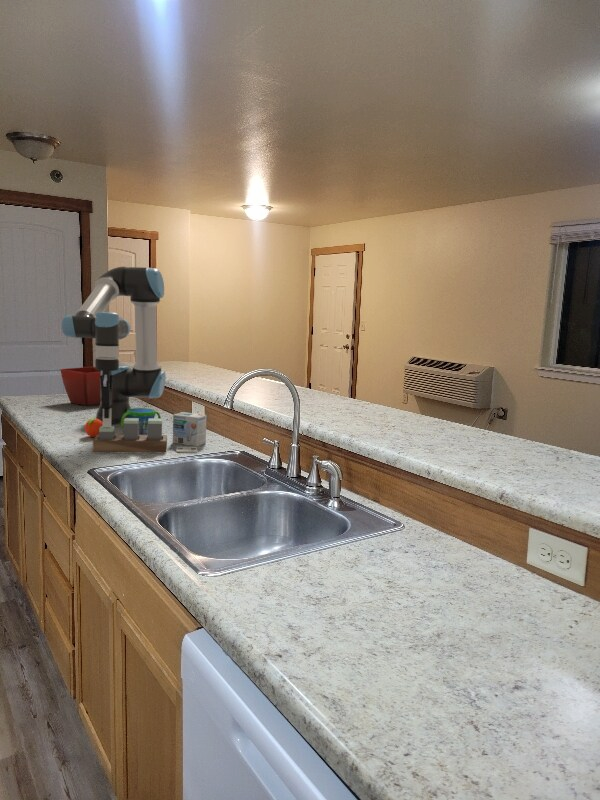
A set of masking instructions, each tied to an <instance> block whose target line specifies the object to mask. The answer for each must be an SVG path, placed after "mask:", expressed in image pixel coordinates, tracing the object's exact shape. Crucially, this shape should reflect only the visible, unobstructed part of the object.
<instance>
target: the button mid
mask: <svg viewBox="0 0 600 800" xmlns="http://www.w3.org/2000/svg"><path fill="white" fill-rule="evenodd" d="M123 435H124V440H138V438H139V418H125V419H124V429H123Z"/></svg>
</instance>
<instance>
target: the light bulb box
mask: <svg viewBox="0 0 600 800" xmlns="http://www.w3.org/2000/svg"><path fill="white" fill-rule="evenodd" d="M207 416H208V415H207V414H203V413H202V414H200V413H193V412H187V411H186V412H184V411H181V412H178V413H174V414H173V419H172V420H173V421H172V444H173V443H174V444H178V445H179V444H180V445H185V446H191V447H199V446H201V445H204V444H206V443H207Z"/></svg>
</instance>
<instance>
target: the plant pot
mask: <svg viewBox="0 0 600 800" xmlns="http://www.w3.org/2000/svg"><path fill="white" fill-rule="evenodd" d="M60 375H61V379H62V382H63V386H64V389H65V392H66V394H67V397H68V400H69V401H70V403H71V404H74V403H76V405H79V404H82V405H81V406H84V405H90V406H96V405H95V404H97V405H100V402H101V396H100V376H101V370H96V368H95V366H83V367H82V366H81V367H72V368H71V367H70V368H60Z"/></svg>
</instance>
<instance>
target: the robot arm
mask: <svg viewBox="0 0 600 800" xmlns="http://www.w3.org/2000/svg"><path fill="white" fill-rule="evenodd" d="M164 295H165V283H164V277H163V275H162V272H161V271H160V270H159V269H157V268H154V267H153V268H152V267H138V266H135V267H134V266H117V267H115V268H114V267H113V268H112V269H109V270H107V271H106V272H104V273H102V275H100V276H99V277H98V278H97V279H96V281H95V283H94V289H93V290H92V291H91V292H90V294H89V296H88V297H87V298H86V299H85V301H84V302H83V303H82V305H81V306H80V307H79V309H78V311H77V312H76V313H75V315H73V314H70V315H65V316H64V317H63V318H62V321H61V330H62V333H63V335H64V336H65V337H67V338H69V337H70V338H75V339H76V338H79V339H81V338H82V339H83V338H84V339H95V347H94V348H93V351H94V352H95V357H96V358H95V360H94V361H95V363H94V365H95V366H94V367H95V368H96V370H101V376H100V396H101V402H100V404H99V407H98V409H97V412H96V415H95V419H99V420H101V421H102V422H103V427H111V426H112V424H121V419H122V416H123V415H124V413H126V412H127V410H128V409H132V407H131V405H130V398H146V399H157V398H160V397H161V396H162V395H163V392H164V389H165V386H166V385H165V384H166V378H167V377H166V375H167V374H166V371H164V370H162V366H161V365H160V363H159V362H158V341H157V340H158V338H157V337H158V335H157V333H158V332H157V330H158V329H157V305H159V304H160V302H161V298H164ZM120 296H122V297H124V296H125V297H130V302H131V303H132V305H133V306H134V329H135V330H134V332H135V335H134V337H135V363H134V364H133V365H132V369H130V366H129V365H120V361H119V357H120V344H119V343H120V340H122V339H124V338H126V337H127V336H129V334H130V332H131V325H130V323H129V321H128V320H126V319H125V318H122V317H120V315H119V313H117V312H110V311H107V312H106V310H107V308H108V306H109V305H110V304H111V302H112V301H113V300H115V299H116V298H117V297H120ZM125 418H128V415H127V416H126V417H125Z"/></svg>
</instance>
